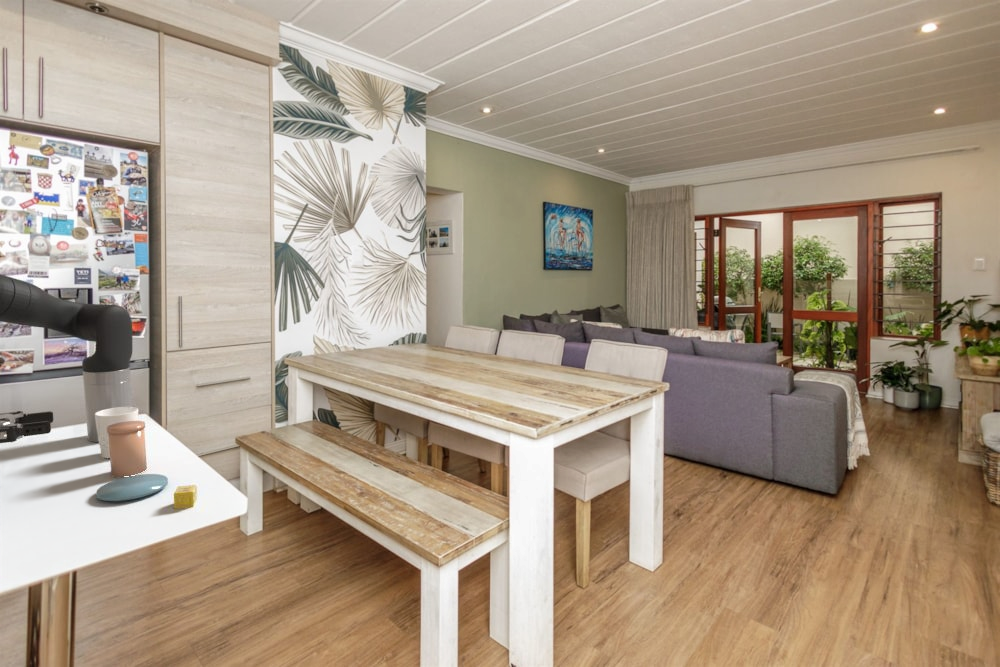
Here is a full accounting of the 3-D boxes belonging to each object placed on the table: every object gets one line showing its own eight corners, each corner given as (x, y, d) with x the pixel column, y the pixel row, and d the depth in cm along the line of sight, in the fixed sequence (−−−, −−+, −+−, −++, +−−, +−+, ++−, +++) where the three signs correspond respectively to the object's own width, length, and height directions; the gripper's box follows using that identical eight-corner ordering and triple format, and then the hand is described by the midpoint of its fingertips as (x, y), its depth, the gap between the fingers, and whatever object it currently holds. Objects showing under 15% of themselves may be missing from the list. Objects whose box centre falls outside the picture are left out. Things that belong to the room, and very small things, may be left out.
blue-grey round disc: (96, 488, 97) (95, 482, 97) (164, 475, 104) (164, 469, 104) (97, 509, 89) (96, 503, 89) (171, 493, 96) (171, 487, 96)
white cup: (118, 461, 111) (114, 417, 110) (88, 458, 113) (85, 414, 112) (149, 449, 119) (146, 408, 118) (121, 446, 120) (118, 405, 119)
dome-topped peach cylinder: (109, 470, 106) (106, 424, 105) (146, 463, 110) (143, 419, 109) (110, 480, 101) (107, 432, 100) (149, 473, 105) (146, 426, 104)
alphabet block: (197, 499, 94) (196, 484, 93) (193, 507, 91) (193, 491, 90) (178, 502, 93) (177, 486, 92) (174, 509, 90) (173, 493, 89)
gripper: (-87, 424, 81) (48, 410, 91) (-67, 406, 92) (52, 395, 102) (-83, 469, 82) (51, 450, 92) (-63, 446, 93) (55, 431, 103)
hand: (51, 421), depth 97 cm, fingers open, 8 cm apart
